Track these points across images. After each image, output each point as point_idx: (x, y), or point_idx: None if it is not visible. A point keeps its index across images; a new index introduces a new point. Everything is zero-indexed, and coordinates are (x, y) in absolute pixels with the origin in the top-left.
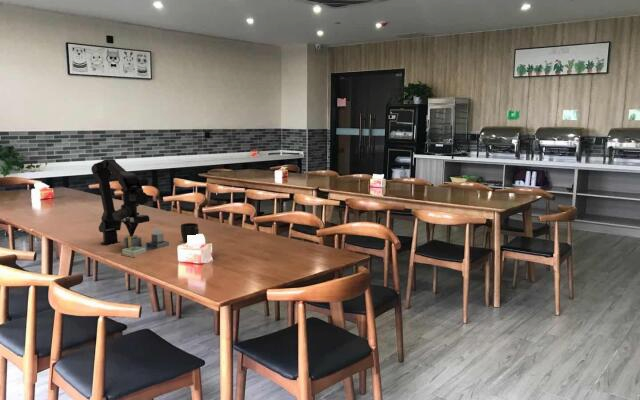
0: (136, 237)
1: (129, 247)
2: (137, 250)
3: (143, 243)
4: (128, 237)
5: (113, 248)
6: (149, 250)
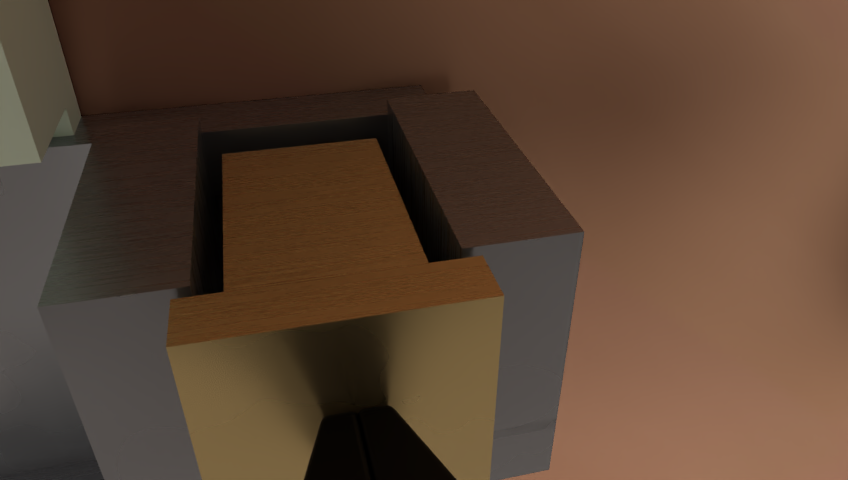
0: None
1: None
2: None
3: None
4: (334, 291)
5: (776, 21)
6: None
